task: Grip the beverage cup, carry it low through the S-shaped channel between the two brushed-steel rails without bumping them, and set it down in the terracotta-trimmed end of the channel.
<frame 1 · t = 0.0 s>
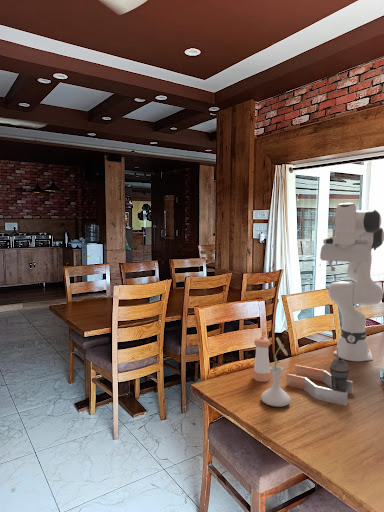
hand: (344, 271, 167), 48 cm above the table, tool pointing down, fingers open, 8 cm apart
rail track: (317, 388, 160), on the table
beverage cup: (338, 397, 153), on the table
flower in vase: (275, 402, 149), on the table
pepper shaker: (261, 378, 171), on the table
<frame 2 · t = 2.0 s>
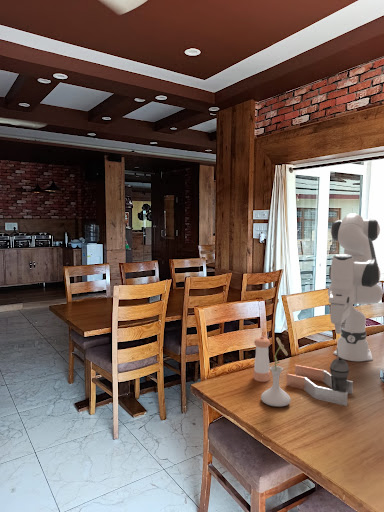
hand: (340, 330, 150), 27 cm above the table, tool pointing down, fingers open, 8 cm apart
nothing on the table moved.
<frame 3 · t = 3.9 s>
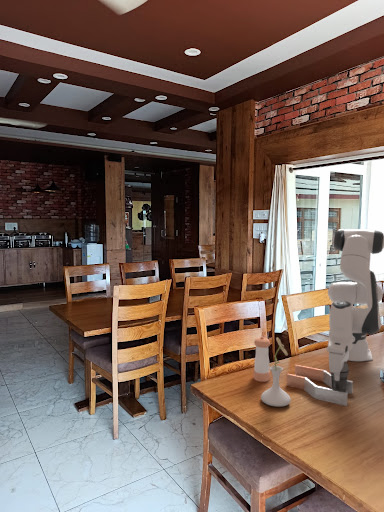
hand: (339, 376, 152), 8 cm above the table, tool pointing down, fingers open, 7 cm apart
beverage cup: (338, 397, 153), on the table, touching arm, gripper
everything else where it was.
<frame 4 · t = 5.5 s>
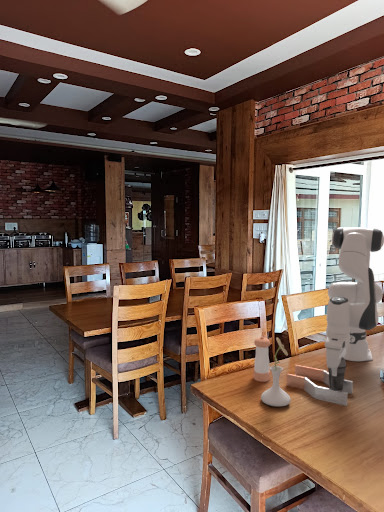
hand: (336, 372, 153), 10 cm above the table, tool pointing down, fingers closed on beverage cup, 7 cm apart
beverage cup: (336, 393, 154), point 1 cm above the table, touching arm, gripper
everything else where it was.
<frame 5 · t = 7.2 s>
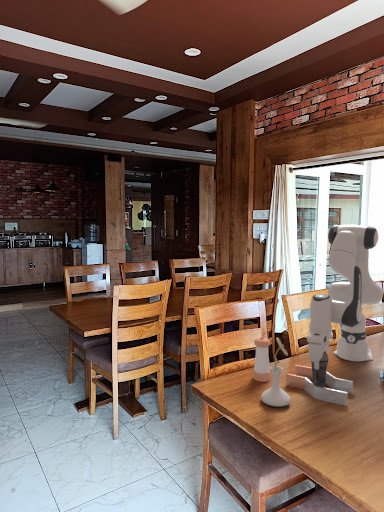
hand: (319, 365, 160), 10 cm above the table, tool pointing down, fingers closed on beverage cup, 7 cm apart
beverage cup: (318, 385, 161), point 1 cm above the table, touching gripper
everything else where it was.
when the fingers open (9 cm above the table, at t = 9.8 s): beverage cup stays where it is, on the table.
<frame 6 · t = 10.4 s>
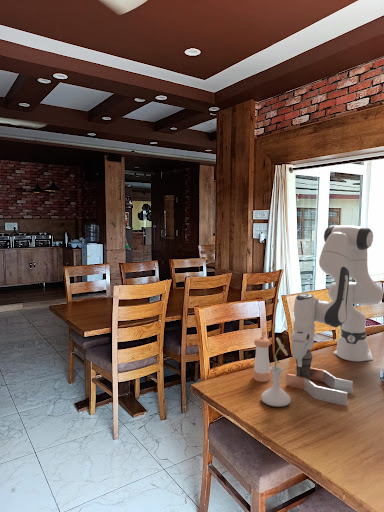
hand: (303, 362, 166), 9 cm above the table, tool pointing down, fingers open, 8 cm apart
beverage cup: (303, 382, 167), on the table
everything else where it was.
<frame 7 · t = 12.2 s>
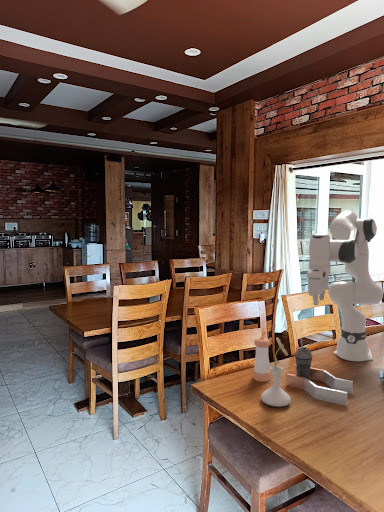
hand: (318, 302, 166), 35 cm above the table, tool pointing down, fingers open, 8 cm apart
nothing on the table moved.
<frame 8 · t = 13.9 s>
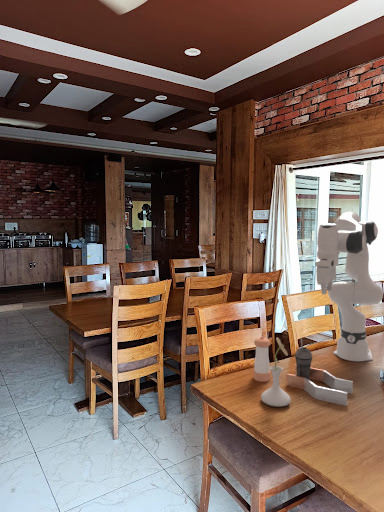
hand: (326, 292, 167), 39 cm above the table, tool pointing down, fingers open, 8 cm apart
nothing on the table moved.
at the end: beverage cup inside the target area (0.2 cm from its centre), on the table; beverage cup tilted 0°; rail track moved 0.0 cm from its start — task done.
